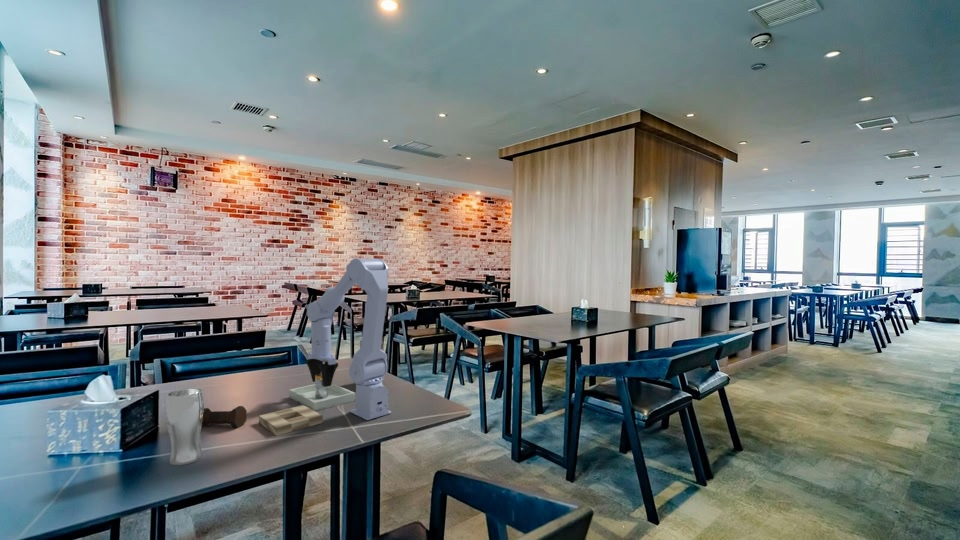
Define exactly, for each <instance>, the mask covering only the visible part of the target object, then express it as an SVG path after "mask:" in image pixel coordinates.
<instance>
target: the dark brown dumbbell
mask: <svg viewBox="0 0 960 540" xmlns="http://www.w3.org/2000/svg"><path fill="white" fill-rule="evenodd" d="M247 419H248V411H247V409H246V407H244V406H243V405H238V406H237V407H235V408H232V409H231V410H229V411H228V410H226V411H224V410H223V411H222V410H221V411H219V410H218V411H217V410H215V411H213V410H211V409H210V408H209V407H204V416H203V423H202V428H203V427H204V426H205V427H207V426H209V425H230V426H231V428H232V429H239V428H241V427H243V426H244V425H245V424H246V423H247ZM208 424H209V425H208ZM206 425H207V426H206ZM205 427H204V428H205Z"/></svg>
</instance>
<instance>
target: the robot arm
mask: <svg viewBox="0 0 960 540" xmlns="http://www.w3.org/2000/svg"><path fill="white" fill-rule="evenodd" d="M345 268H346V269H345V273H344V274H343V276H342V277H341V278H340V280H339V281H338V282H337V284H336V285H335V286H330V287H327V288H326V289H325V292H324V293H323V294H322V296H320V297H319V298H318V300H317V301H315V302H314V301H313V302H312V301H311V302H310V303H309V304H308V306H307V308H306V315H307V318H308V320H309V321H310V322H311V323H310V324H311V326H310V328H311V330H310V332H311V336H310V337H311V341H310V342H311V350H309V351H308V353H307V355H308V356H307V359H305V361H304V362H305V364H306V365H307V367H308V371H309V373H310V376H311V380H312V383H315V375H317V374H322V379H323V385H324V387H327V386H331V384H332V383H333V380H334V376H335V373H336V370H337V368H338V367H339V363H338V362H336V357H335V356H334V355H333V353H332V335H331V334H332V331H331V330H332V329H331V328H332V326H333V319H334V317H335V314H336V311H335V310H337V308H339V306H340V305H341V304H342V303H343V302H344V301H345V297H346V295H345V294H347V292H349V291H350V290H351V289H352V288H353V287H354V286H355V285H357V286H358V287H359V288H361V290H363V291H364V292H365V294H367V296H366V302H365V312H364V320H363V327H362V334H361V340H362V342H361V348H360V347H359V349H358V350H357V351H356V352H355V353H354V354H353V356H352V360H351V361H352V362H351V363H350V365H349V369H348V373H349V374H348V375H349V376H350V379H351V381H352V382H353V384H355V408H354V409H350V410H349V413H352V414H353V415H356V416H358V417H359V418H362V419H364V420H366V421H369V420H373V419H375V418H380V417H382V416H386V415H389V414H391V413H392V411H391V410H390V409H389V390H388V389H387V387H386V386H384V384H383V382H382V380H383V379H384V380H385V375H387V373H388V362H387V356H388V354H387V353H386V352H385V351H383V350H381V341H382V337H383V331H384V325H385V315H386V310H387V302H388V292H389V285H388V279H389V278H388V277H389V272H390V271H389V269H390V267H388V265H387V264H386V262H385V260H383V259H382V258H353V259H352V260H350V261H349V263H348V264H347V265H346V267H345Z"/></svg>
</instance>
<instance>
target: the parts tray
mask: <svg viewBox="0 0 960 540" xmlns="http://www.w3.org/2000/svg"><path fill="white" fill-rule="evenodd" d="M327 389H328V397H327V398H324V399H316V398H315V383H314V384H310V385H309V384H308V385H305V386H301V387H300V386H299V387H295V388H291V389H288V390H289V391H288V393H289V394H288V397H290V398H289V399H291V400H292V401H295V402H297V403H299V404H300V403H301V405H304V406H306V407H308V408H310V409H312V410H314V411H315V412H317V411H321V410H325V409H329V408H333V407H336V406H340V405H345V404H348V403H352V402H356V391H355V392H354V391H353V390H352V391H351V390H350V389H347V388H344V387H343V386H339V385H338V384H336V383H333V382H332V384H331V386H327Z"/></svg>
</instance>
